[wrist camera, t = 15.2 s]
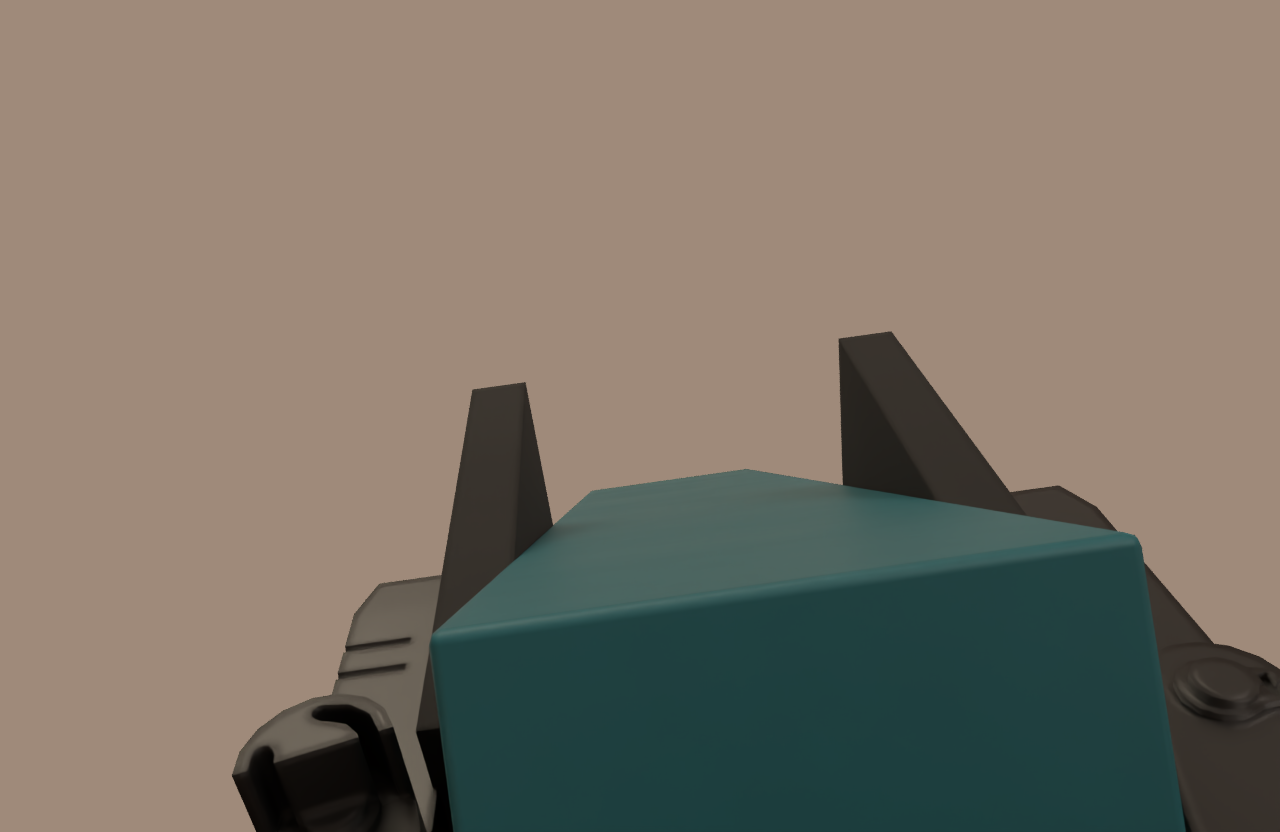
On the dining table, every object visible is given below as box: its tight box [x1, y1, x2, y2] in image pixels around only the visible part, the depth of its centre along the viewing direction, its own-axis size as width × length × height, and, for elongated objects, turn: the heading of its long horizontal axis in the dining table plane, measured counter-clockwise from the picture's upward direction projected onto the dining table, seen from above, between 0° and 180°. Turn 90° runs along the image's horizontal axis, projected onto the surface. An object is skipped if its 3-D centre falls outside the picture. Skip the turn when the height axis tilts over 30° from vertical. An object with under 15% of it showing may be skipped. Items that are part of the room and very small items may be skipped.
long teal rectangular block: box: [429, 469, 1186, 832], centre depth 17 cm, size 22×4×4 cm, turn 0°
